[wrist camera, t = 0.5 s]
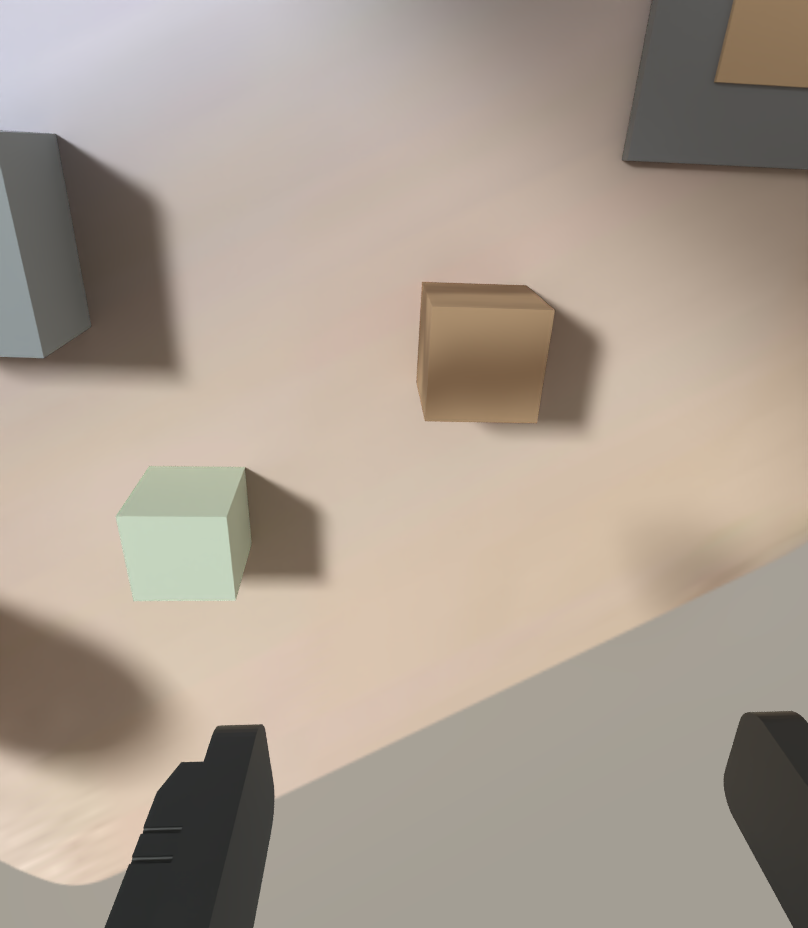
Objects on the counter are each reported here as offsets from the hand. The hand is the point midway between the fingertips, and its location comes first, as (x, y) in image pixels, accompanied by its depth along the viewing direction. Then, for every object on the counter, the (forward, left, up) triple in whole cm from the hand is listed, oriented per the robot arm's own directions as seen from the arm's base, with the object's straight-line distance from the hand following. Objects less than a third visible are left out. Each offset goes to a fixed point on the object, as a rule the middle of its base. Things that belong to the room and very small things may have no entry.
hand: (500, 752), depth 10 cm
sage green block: (+9, -11, -23) cm, 27 cm away
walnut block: (-1, +3, -23) cm, 23 cm away
